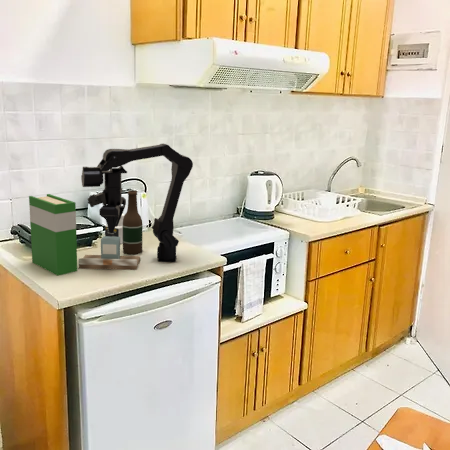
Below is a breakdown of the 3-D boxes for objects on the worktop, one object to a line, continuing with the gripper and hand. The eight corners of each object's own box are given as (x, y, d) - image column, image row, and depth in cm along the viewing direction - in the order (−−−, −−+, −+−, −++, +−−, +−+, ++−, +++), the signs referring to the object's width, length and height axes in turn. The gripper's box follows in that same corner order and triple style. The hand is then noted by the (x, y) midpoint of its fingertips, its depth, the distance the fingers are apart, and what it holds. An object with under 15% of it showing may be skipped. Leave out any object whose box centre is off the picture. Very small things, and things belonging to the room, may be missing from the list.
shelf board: (140, 260, 189) (140, 251, 188) (136, 270, 178) (136, 260, 177) (85, 258, 187) (85, 249, 187) (78, 268, 176) (78, 259, 176)
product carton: (103, 257, 185) (103, 236, 183) (120, 257, 185) (120, 236, 183) (101, 261, 181) (100, 239, 179) (118, 261, 181) (117, 240, 179)
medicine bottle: (104, 242, 209) (104, 213, 206) (116, 238, 215) (115, 210, 212) (118, 245, 206) (118, 216, 203) (129, 241, 212) (129, 213, 209)
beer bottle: (144, 249, 201) (145, 190, 195) (139, 255, 194) (139, 193, 188) (125, 248, 202) (125, 188, 196) (119, 254, 194) (119, 192, 188)
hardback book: (32, 262, 181) (28, 196, 175) (51, 258, 186) (49, 193, 180) (57, 275, 169) (54, 205, 163) (77, 270, 174) (75, 202, 169)
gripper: (95, 180, 184) (96, 222, 188) (83, 190, 166) (84, 236, 170) (125, 181, 185) (126, 223, 189) (117, 191, 167) (118, 237, 171)
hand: (113, 229), depth 180 cm, fingers open, 9 cm apart
